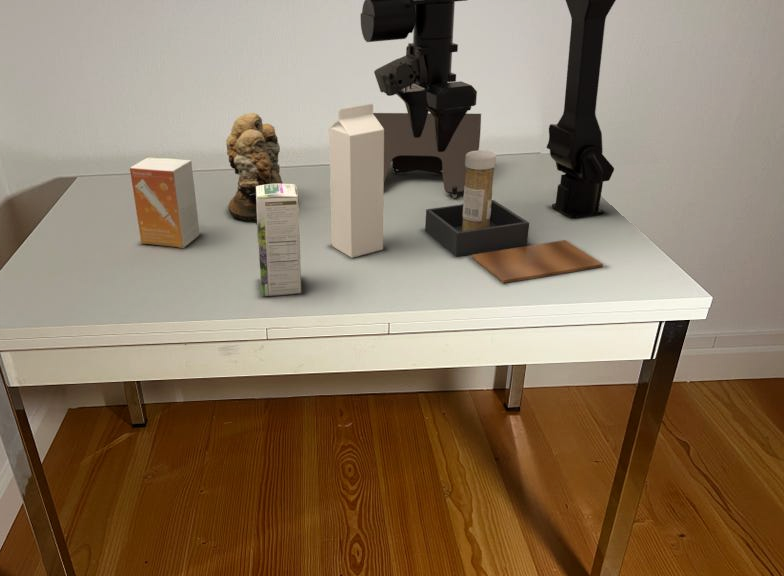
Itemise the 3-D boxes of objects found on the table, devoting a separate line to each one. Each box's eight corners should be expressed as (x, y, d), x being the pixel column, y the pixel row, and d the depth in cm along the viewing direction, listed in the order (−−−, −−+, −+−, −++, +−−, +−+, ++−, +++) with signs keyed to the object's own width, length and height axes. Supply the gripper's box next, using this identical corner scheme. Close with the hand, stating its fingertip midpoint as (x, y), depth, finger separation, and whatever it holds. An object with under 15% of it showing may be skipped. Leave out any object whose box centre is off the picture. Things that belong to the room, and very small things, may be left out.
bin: (491, 221, 128) (493, 199, 126) (527, 245, 118) (529, 222, 117) (425, 231, 126) (425, 209, 124) (455, 256, 116) (457, 233, 114)
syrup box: (260, 280, 111) (253, 184, 104) (300, 277, 112) (295, 181, 104) (261, 297, 107) (254, 197, 99) (303, 294, 107) (298, 194, 99)
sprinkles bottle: (495, 237, 121) (502, 153, 114) (474, 244, 119) (480, 159, 112) (474, 229, 125) (481, 147, 118) (454, 235, 123) (459, 153, 116)
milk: (383, 250, 120) (385, 107, 108) (350, 258, 117) (350, 113, 106) (362, 238, 124) (362, 99, 113) (330, 246, 122) (327, 105, 110)
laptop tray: (353, 219, 148) (349, 185, 141) (369, 139, 160) (366, 104, 153) (473, 224, 144) (475, 188, 136) (480, 141, 155) (482, 104, 148)
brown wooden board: (564, 243, 119) (565, 240, 119) (602, 267, 110) (603, 263, 110) (471, 257, 115) (471, 254, 115) (503, 283, 107) (503, 280, 107)
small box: (140, 244, 126) (128, 167, 119) (159, 231, 131) (148, 156, 125) (183, 249, 124) (173, 170, 117) (201, 235, 129) (192, 159, 122)
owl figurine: (287, 224, 131) (281, 124, 122) (220, 224, 132) (210, 126, 124) (299, 191, 146) (294, 100, 138) (239, 192, 148) (231, 102, 139)
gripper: (359, 33, 116) (360, 136, 124) (405, 50, 100) (403, 166, 108) (426, 27, 118) (423, 128, 126) (482, 43, 103) (474, 157, 111)
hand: (428, 144), depth 118 cm, fingers open, 9 cm apart
